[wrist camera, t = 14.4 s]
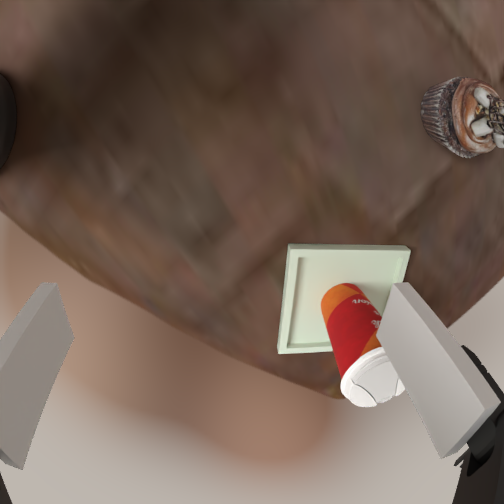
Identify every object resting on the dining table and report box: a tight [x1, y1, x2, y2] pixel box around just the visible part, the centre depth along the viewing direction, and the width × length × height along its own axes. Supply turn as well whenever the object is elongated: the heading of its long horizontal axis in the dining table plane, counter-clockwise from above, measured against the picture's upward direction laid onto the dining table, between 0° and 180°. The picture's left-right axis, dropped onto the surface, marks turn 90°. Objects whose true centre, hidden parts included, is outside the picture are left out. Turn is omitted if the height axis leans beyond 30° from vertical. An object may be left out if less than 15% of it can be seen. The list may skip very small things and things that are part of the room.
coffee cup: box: [321, 283, 405, 407], centre depth 34 cm, size 8×8×15 cm
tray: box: [277, 244, 411, 354], centre depth 40 cm, size 16×16×2 cm
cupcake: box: [421, 77, 504, 158], centre depth 26 cm, size 10×10×10 cm
